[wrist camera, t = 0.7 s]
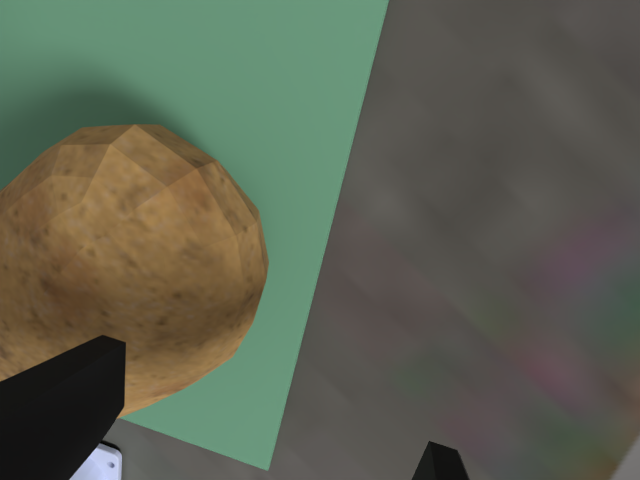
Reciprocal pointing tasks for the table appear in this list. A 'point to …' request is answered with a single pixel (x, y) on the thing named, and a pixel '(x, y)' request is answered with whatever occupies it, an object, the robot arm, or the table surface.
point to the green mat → (210, 149)
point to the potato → (129, 258)
